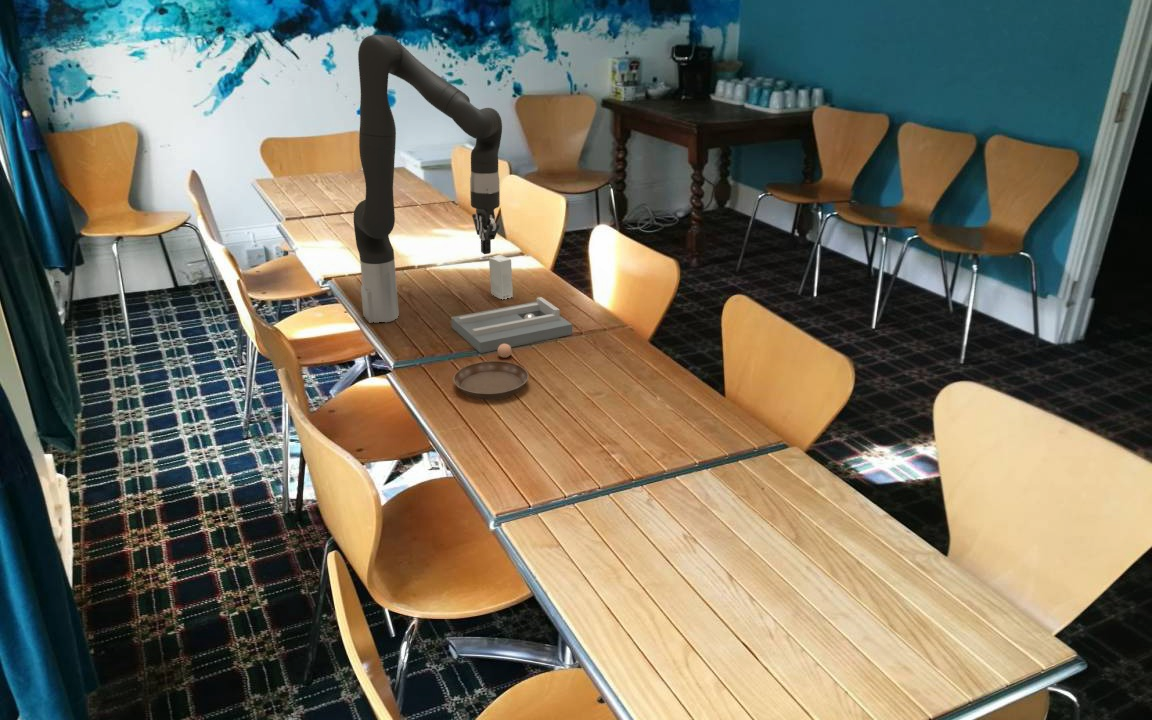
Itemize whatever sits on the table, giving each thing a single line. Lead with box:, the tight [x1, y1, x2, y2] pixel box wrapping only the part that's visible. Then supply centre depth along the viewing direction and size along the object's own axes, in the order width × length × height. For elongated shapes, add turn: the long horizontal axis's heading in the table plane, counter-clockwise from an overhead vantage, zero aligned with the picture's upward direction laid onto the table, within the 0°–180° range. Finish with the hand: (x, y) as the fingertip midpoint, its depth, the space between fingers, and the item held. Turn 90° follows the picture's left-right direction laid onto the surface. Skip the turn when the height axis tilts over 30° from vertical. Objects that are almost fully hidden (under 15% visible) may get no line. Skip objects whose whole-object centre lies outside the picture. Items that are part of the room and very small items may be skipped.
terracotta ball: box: [496, 344, 513, 359], centre depth 224 cm, size 4×4×4 cm
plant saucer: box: [452, 360, 529, 401], centre depth 209 cm, size 18×18×3 cm
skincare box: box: [488, 254, 514, 301], centre depth 263 cm, size 6×4×12 cm
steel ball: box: [523, 313, 536, 319], centre depth 243 cm, size 4×4×4 cm
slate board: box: [450, 296, 573, 354], centre depth 240 cm, size 27×20×6 cm
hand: (485, 253), depth 234 cm, fingers closed
